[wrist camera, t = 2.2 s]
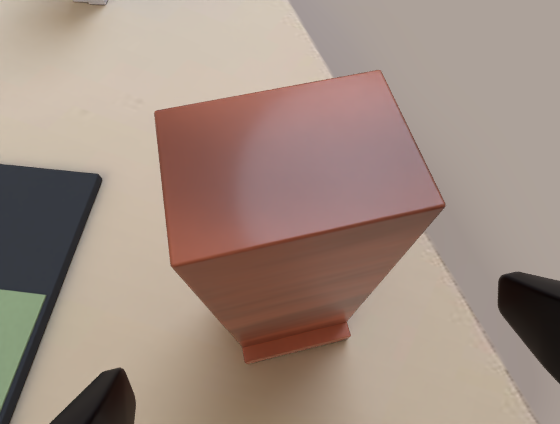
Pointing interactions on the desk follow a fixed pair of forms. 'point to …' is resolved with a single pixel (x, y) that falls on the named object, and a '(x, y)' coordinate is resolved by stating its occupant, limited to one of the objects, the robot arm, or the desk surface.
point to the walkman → (93, 1)
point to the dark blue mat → (34, 260)
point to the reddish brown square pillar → (292, 206)
